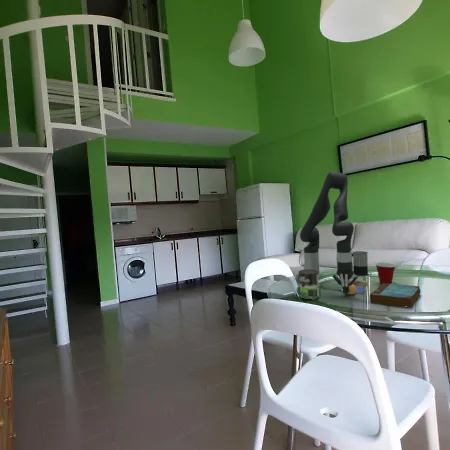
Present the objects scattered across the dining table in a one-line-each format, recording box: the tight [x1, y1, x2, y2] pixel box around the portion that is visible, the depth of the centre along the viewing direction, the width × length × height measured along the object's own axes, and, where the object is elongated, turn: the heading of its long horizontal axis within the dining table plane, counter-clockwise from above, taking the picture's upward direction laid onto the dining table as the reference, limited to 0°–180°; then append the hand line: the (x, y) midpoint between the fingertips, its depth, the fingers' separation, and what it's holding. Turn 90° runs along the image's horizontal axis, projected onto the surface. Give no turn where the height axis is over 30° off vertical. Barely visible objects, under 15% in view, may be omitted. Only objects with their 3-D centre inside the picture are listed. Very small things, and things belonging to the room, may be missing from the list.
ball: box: [346, 284, 357, 296], centre depth 173 cm, size 6×6×6 cm
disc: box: [340, 285, 367, 295], centre depth 181 cm, size 14×14×1 cm
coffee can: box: [298, 269, 320, 297], centre depth 173 cm, size 10×10×14 cm
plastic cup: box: [375, 262, 397, 285], centre depth 186 cm, size 11×11×12 cm
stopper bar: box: [349, 279, 368, 287], centre depth 189 cm, size 10×2×2 cm, turn 53°
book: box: [369, 283, 421, 308], centre depth 161 cm, size 23×18×5 cm
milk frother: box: [351, 250, 369, 277], centre depth 212 cm, size 14×16×15 cm
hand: (345, 293), depth 170 cm, fingers closed
